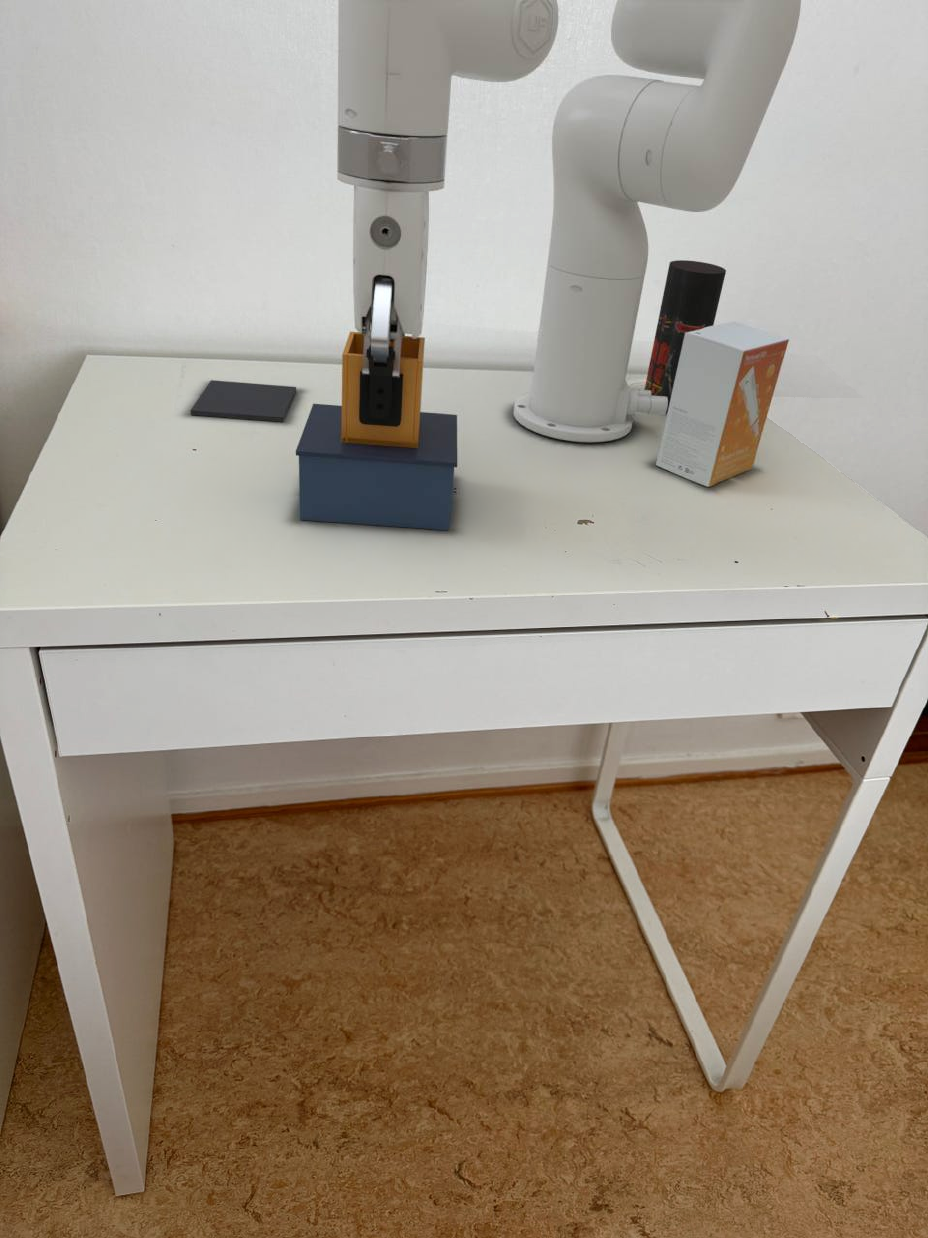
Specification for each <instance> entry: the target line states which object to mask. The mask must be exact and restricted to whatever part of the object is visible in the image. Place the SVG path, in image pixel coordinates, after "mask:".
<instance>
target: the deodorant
mask: <svg viewBox="0 0 928 1238" xmlns="http://www.w3.org/2000/svg"><path fill="white" fill-rule="evenodd" d="M726 275H727V270H726V269H725V267H722V266H720V265H717V264H712V263H710V262H709V263H708V262H704V261H697V260H688V259H687V260H686V259H685V260H682V259H681V260H680V259H679V260H671V261H670V262H669V265H668V269H667V274H666V280H665V284H664V290H663V294H662V300H661V304H660V309H659V316H658V320H657V324H656V329H655V335H654V338H653V344H652V345H653V346H652V350H651V353H650V354H651V355H650V359H649V364H648V370H647V375H646V380H645V385H644V389H643V390H650V391H651V395H652V396H664V397H667V398H668V406H667V411H666V413H668V408H669V404H670V399H671V394H672V390H673V385H674V381H675V376H676V372H677V367H678V363H679V358H680V354H681V349H682V345H683V340H684V336H685V333H686V332H691V331H695V330H700V329H703V328H705V327H709V326H715V320H716V317H717V311H718V308H719V303H720V299H721V295H722V290H723V286H724V281H725V278H726Z"/></svg>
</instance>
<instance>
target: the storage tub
mask: <svg viewBox="0 0 928 1238" xmlns="http://www.w3.org/2000/svg"><path fill="white" fill-rule="evenodd" d="M341 433H342V405H336V404H325V403H324V404H323V403H313V404H312V406H311V408H310V412H309V414H308V416H307V420H306V423H305V425H304V428H303V430H302V433H301V436H300V439H299V441H298V443H297V446H296V449H295V456H298V491H299V492H298V493H299V495H298V498H299V500H298V501H299V502H298V503H299V520H300V521H311V522H312V521H313V522H325V523H339V524H353V525H367V526H379V527H396V528H410V529H422V530H423V529H424V530H439V531H450V524H451V514H452V513H451V512H452V502H453V491H454V490H453V488H454V476H455V468H456V469H457V468H458V414H453V413H452V414H451V413H439V412H426V411H421V412H420V426H419V438H418V448H410V447H396V446H383V445H370V444H356V443H343V442H341Z"/></svg>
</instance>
